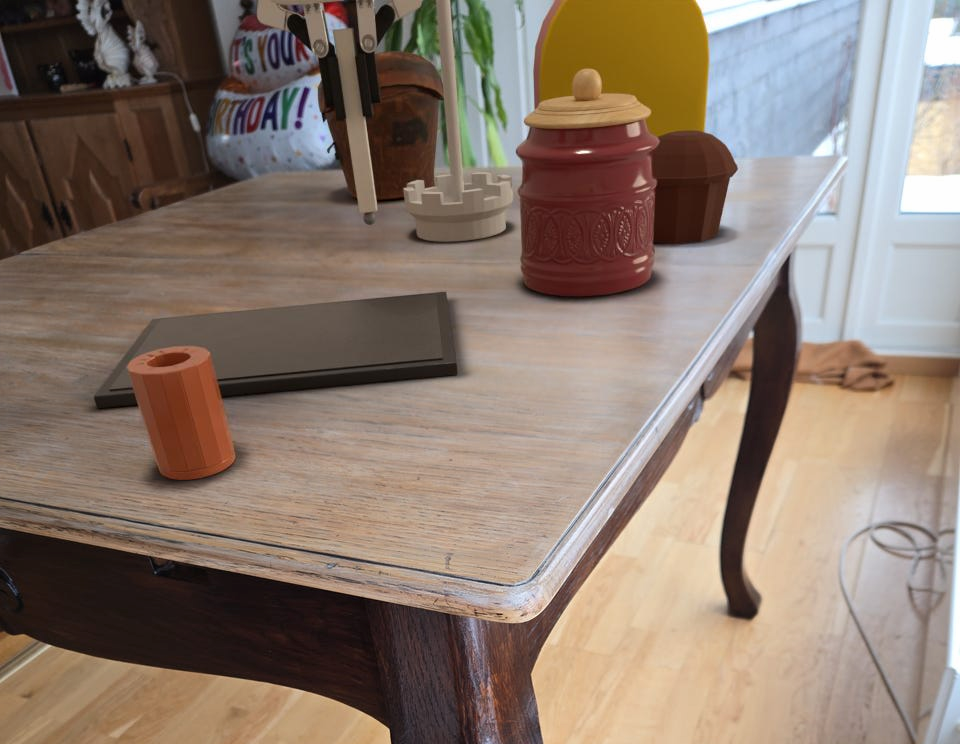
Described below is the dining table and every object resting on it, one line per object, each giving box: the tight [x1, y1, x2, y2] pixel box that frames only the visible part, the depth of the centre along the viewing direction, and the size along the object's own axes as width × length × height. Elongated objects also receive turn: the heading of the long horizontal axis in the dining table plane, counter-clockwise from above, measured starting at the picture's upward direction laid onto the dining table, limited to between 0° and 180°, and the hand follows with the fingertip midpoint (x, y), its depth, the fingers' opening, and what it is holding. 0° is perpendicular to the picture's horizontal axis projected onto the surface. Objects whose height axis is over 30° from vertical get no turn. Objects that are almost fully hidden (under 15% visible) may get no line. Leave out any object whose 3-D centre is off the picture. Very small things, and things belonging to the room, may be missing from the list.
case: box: [317, 50, 444, 201], centre depth 128 cm, size 18×20×18 cm
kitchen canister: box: [515, 69, 659, 297], centre depth 83 cm, size 13×13×18 cm
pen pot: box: [127, 346, 236, 481], centre depth 57 cm, size 5×5×7 cm
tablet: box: [93, 291, 458, 410], centre depth 77 cm, size 28×20×1 cm
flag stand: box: [403, 0, 514, 242], centre depth 101 cm, size 13×13×30 cm
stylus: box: [332, 27, 378, 226], centre depth 68 cm, size 1×1×13 cm
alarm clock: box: [532, 0, 710, 137], centre depth 113 cm, size 21×9×26 cm, turn 93°
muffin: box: [653, 130, 739, 245], centre depth 97 cm, size 12×11×10 cm
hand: (355, 115), depth 67 cm, fingers closed on stylus, 1 cm apart
